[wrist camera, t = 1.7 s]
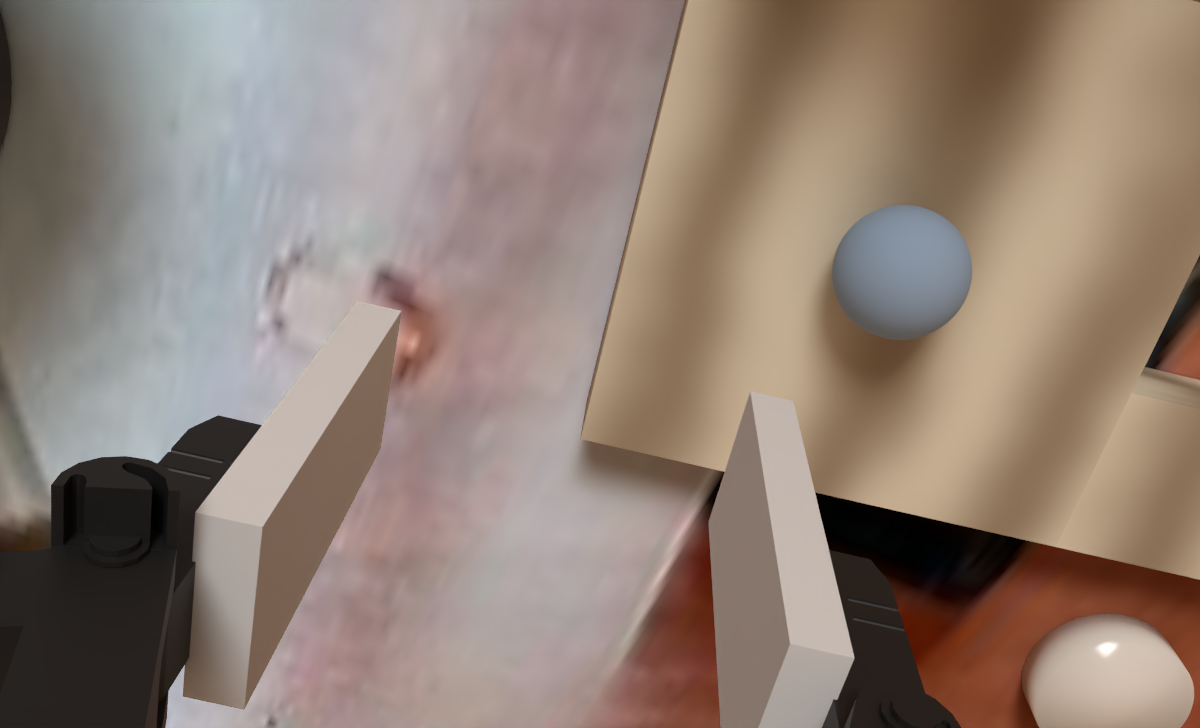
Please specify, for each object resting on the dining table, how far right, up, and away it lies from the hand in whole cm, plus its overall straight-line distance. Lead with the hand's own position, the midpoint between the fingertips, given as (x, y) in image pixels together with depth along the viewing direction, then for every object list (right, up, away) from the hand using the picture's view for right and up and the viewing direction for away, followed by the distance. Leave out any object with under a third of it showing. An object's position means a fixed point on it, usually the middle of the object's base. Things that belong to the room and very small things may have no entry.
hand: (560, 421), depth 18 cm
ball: (+10, +4, +13) cm, 17 cm away
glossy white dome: (+21, -12, +25) cm, 35 cm away
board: (+16, +4, +18) cm, 24 cm away
